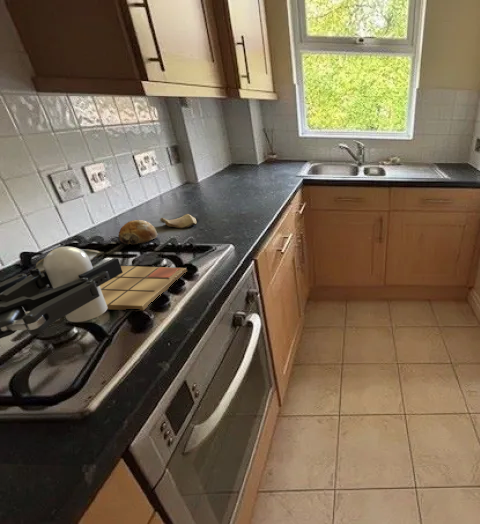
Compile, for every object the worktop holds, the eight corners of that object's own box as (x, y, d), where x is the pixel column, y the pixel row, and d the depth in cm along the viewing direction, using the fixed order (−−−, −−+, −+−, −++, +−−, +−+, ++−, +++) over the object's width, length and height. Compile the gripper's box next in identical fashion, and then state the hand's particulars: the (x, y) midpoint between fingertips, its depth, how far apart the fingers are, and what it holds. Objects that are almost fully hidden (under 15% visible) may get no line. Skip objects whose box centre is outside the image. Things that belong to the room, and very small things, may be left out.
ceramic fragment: (101, 255, 94) (96, 242, 92) (107, 260, 91) (102, 247, 89) (35, 273, 84) (28, 259, 82) (40, 279, 81) (33, 265, 79)
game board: (49, 307, 70) (46, 302, 69) (110, 269, 86) (109, 265, 86) (143, 310, 70) (142, 305, 69) (187, 271, 86) (186, 267, 86)
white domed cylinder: (57, 321, 52) (26, 254, 47) (84, 303, 57) (59, 240, 52) (91, 322, 52) (64, 255, 47) (115, 304, 57) (93, 241, 52)
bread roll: (161, 249, 107) (166, 225, 107) (126, 246, 98) (132, 220, 97) (144, 243, 111) (149, 220, 111) (109, 239, 102) (115, 214, 102)
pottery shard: (188, 222, 125) (158, 221, 118) (189, 210, 124) (159, 209, 117) (199, 231, 119) (167, 230, 112) (200, 219, 118) (168, 218, 110)
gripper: (-130, 370, 39) (62, 278, 59) (7, 391, 37) (157, 287, 57) (-174, 317, 35) (46, 239, 56) (-26, 336, 33) (145, 248, 54)
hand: (102, 263), depth 57 cm, fingers closed on white domed cylinder, 5 cm apart
